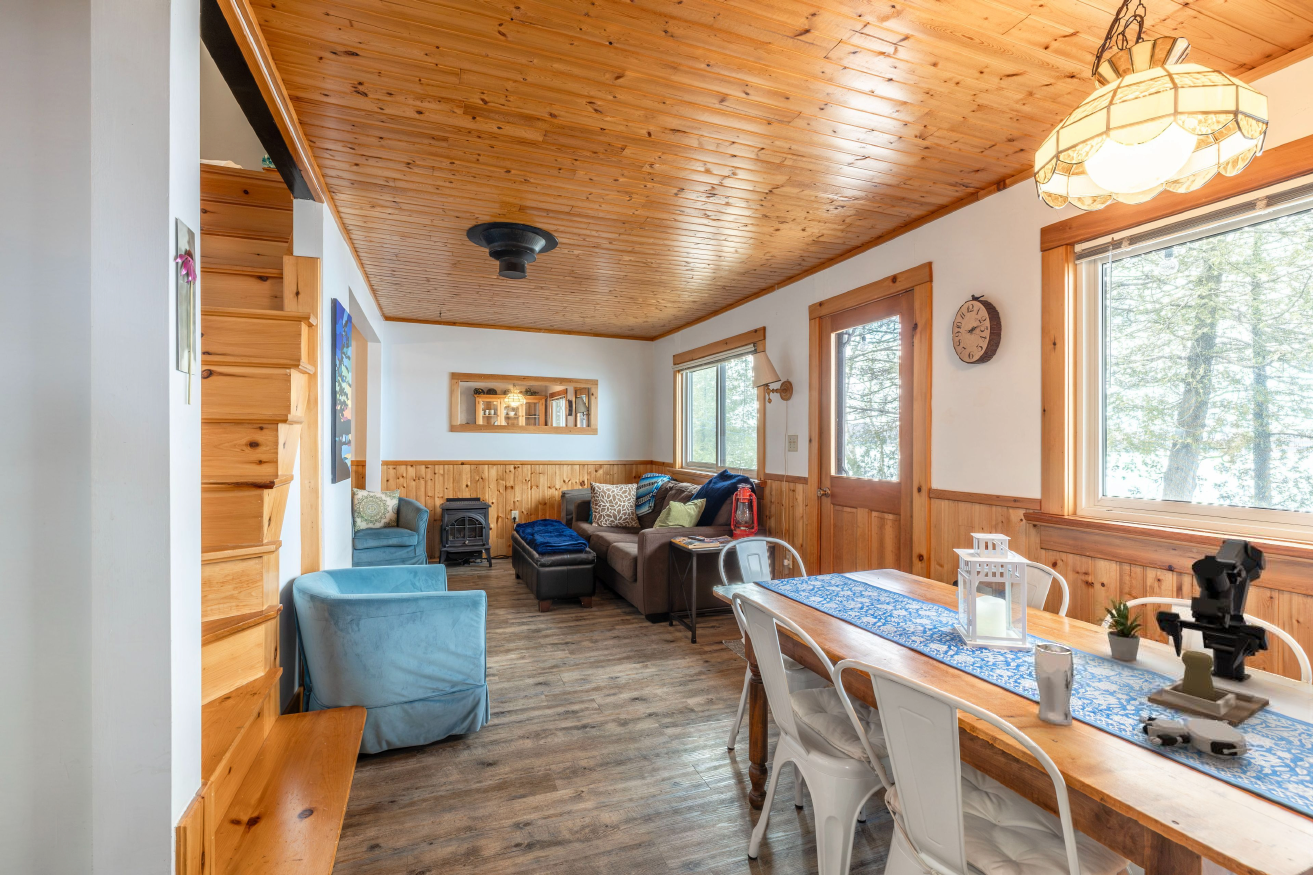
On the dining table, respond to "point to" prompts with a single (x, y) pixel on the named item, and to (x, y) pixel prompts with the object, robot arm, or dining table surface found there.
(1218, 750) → the robot toy
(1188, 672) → the cork
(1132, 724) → the dining table surface
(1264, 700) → the assembly jig
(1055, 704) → the beer glass
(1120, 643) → the house plant
